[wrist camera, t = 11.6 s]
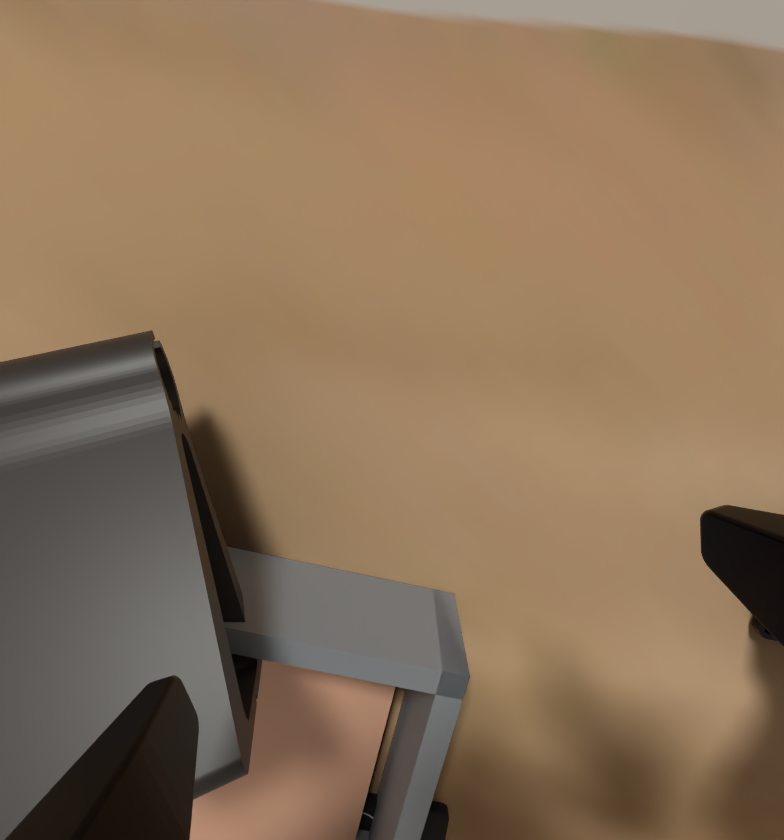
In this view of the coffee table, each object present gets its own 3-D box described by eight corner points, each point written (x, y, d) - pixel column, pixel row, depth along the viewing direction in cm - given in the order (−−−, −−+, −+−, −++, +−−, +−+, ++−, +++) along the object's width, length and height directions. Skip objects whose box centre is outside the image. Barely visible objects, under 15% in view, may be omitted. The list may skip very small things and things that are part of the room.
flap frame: (458, 578, 21) (476, 660, 16) (381, 850, 25) (377, 983, 20) (-17, 478, 21) (-148, 532, 16) (-24, 773, 24) (-132, 891, 19)
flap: (386, 571, 25) (451, 734, 16) (342, 754, 27) (376, 980, 19) (-58, 545, 19) (-336, 770, 10) (-59, 776, 22) (-281, 1110, 13)
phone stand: (247, 782, 10) (108, 268, 11) (-90, 941, 9) (-206, 324, 10) (264, 656, 19) (184, 372, 20) (98, 724, 17) (23, 411, 18)
